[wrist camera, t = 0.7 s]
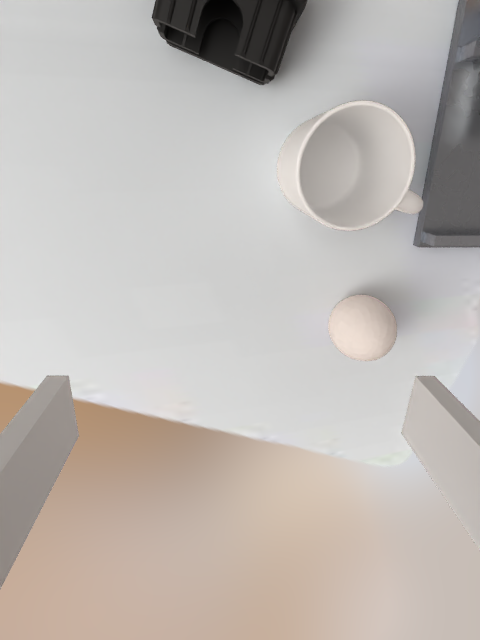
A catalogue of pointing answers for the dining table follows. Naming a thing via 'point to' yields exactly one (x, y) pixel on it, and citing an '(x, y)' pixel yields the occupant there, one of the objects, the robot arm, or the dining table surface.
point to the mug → (350, 166)
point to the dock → (456, 144)
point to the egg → (362, 328)
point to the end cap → (231, 32)
